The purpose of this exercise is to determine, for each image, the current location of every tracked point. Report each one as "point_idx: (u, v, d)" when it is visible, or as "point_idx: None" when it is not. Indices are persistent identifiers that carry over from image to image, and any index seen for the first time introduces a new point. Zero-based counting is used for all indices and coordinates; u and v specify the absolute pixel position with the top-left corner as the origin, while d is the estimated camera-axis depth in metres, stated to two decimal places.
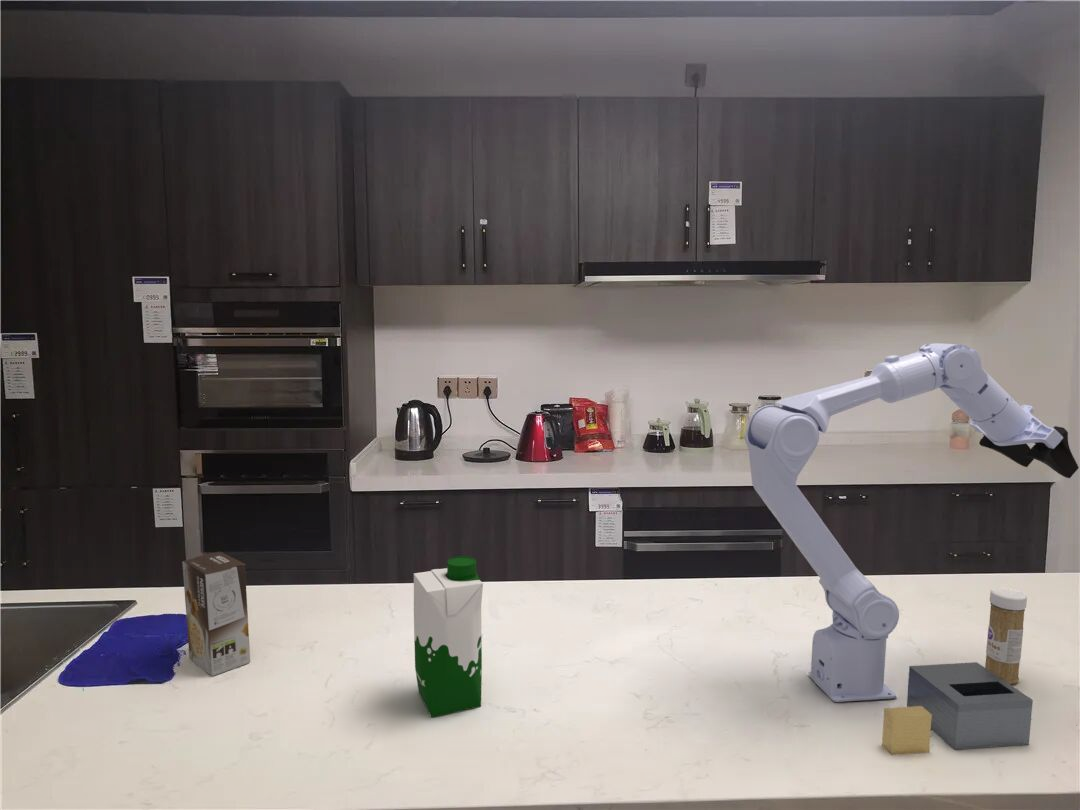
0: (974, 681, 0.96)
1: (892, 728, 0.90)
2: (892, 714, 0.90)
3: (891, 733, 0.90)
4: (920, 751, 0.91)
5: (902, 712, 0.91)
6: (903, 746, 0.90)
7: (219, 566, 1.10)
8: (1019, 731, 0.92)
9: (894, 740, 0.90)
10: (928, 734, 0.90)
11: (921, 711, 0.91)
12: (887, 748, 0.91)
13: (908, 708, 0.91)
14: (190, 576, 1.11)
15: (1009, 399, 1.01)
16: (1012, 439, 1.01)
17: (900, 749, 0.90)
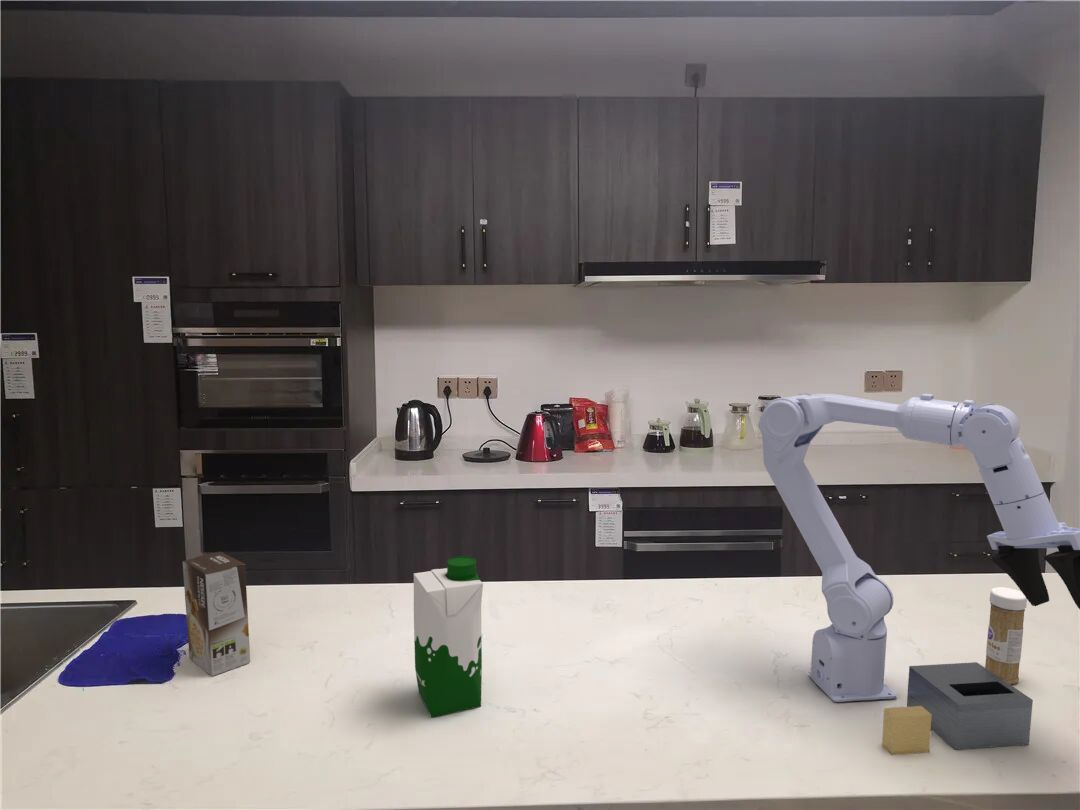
0: (974, 681, 0.96)
1: (891, 728, 0.90)
2: (892, 714, 0.90)
3: (891, 733, 0.90)
4: (920, 751, 0.91)
5: (902, 712, 0.91)
6: (903, 746, 0.90)
7: (219, 566, 1.10)
8: (1019, 731, 0.92)
9: (894, 740, 0.90)
10: (928, 734, 0.90)
11: (921, 711, 0.91)
12: (887, 748, 0.91)
13: (908, 708, 0.91)
14: (190, 575, 1.11)
15: (1044, 493, 0.88)
16: (1033, 537, 0.87)
17: (900, 749, 0.90)
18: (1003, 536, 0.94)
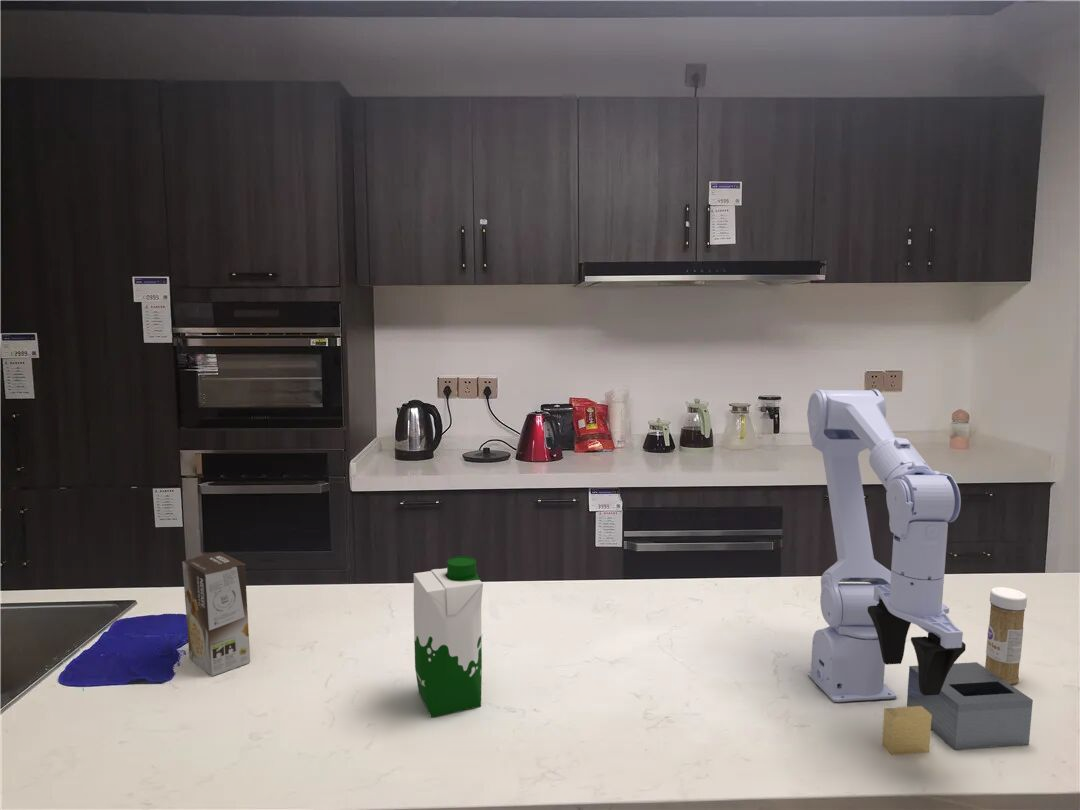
0: (974, 681, 0.96)
1: (892, 728, 0.90)
2: (892, 714, 0.90)
3: (891, 733, 0.90)
4: (920, 751, 0.91)
5: (902, 712, 0.91)
6: (903, 746, 0.90)
7: (219, 566, 1.10)
8: (1019, 731, 0.92)
9: (894, 740, 0.90)
10: (928, 734, 0.90)
11: (921, 711, 0.91)
12: (887, 748, 0.91)
13: (908, 708, 0.91)
14: (190, 576, 1.11)
15: (942, 578, 0.87)
16: (911, 615, 0.87)
17: (900, 749, 0.90)
18: (888, 594, 0.93)
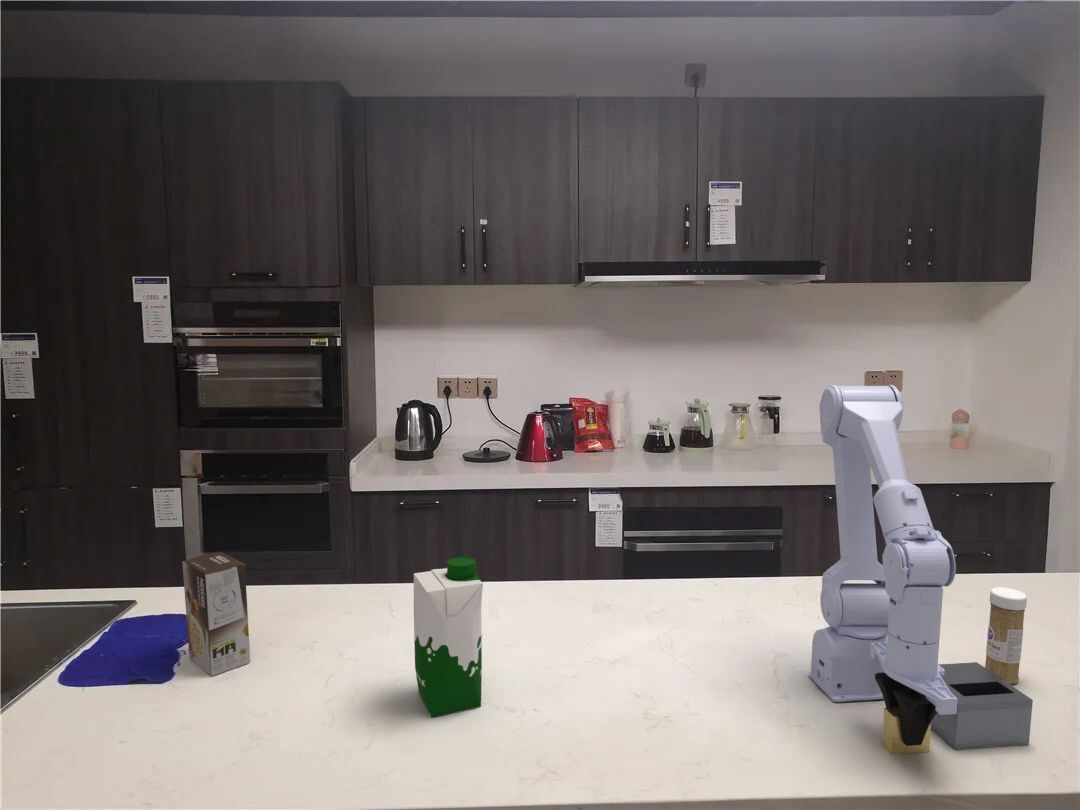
0: (974, 681, 0.96)
1: (892, 727, 0.90)
2: (892, 714, 0.90)
3: (891, 733, 0.90)
4: (920, 751, 0.91)
5: None
6: (903, 746, 0.90)
7: (219, 566, 1.10)
8: (1019, 731, 0.92)
9: (894, 740, 0.90)
10: (928, 734, 0.90)
11: None
12: (887, 748, 0.91)
13: None
14: (190, 576, 1.11)
15: (938, 642, 0.88)
16: (907, 678, 0.88)
17: (900, 749, 0.90)
18: (884, 653, 0.94)
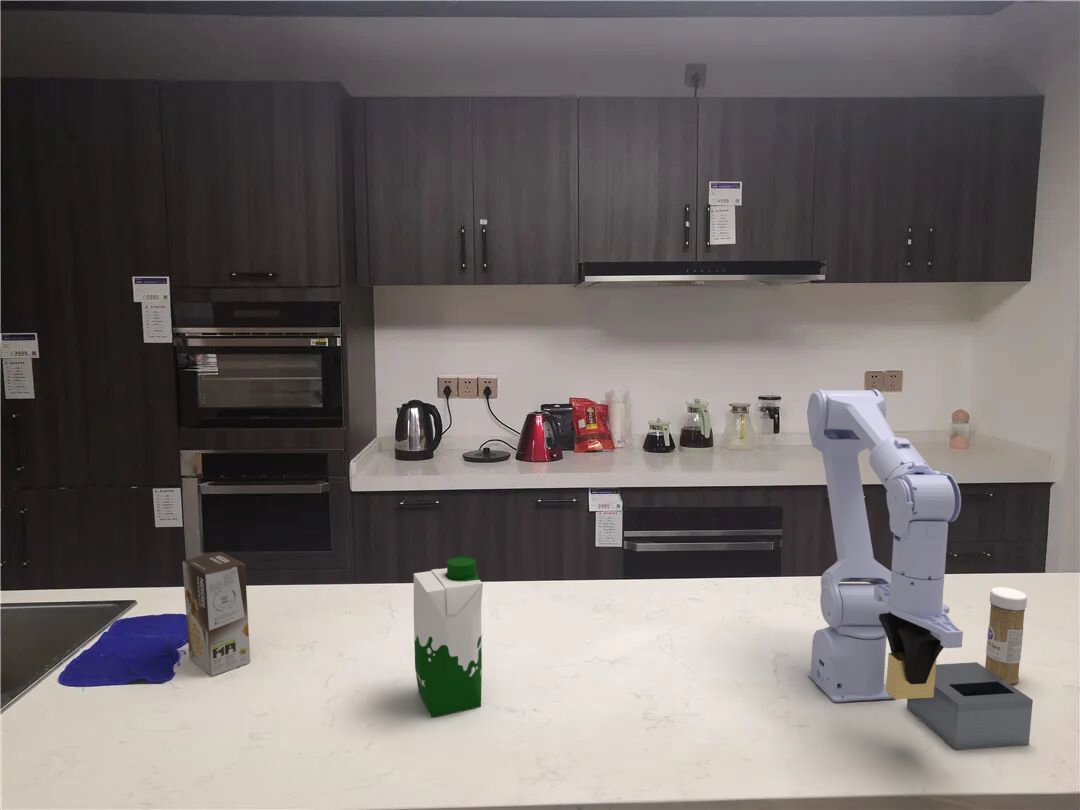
0: (974, 681, 0.96)
1: (896, 672, 0.89)
2: (896, 658, 0.89)
3: (895, 677, 0.89)
4: (924, 696, 0.90)
5: None
6: (907, 690, 0.89)
7: (219, 566, 1.10)
8: (1019, 731, 0.92)
9: (899, 685, 0.89)
10: (933, 679, 0.90)
11: None
12: (891, 693, 0.90)
13: None
14: (190, 576, 1.11)
15: (942, 578, 0.87)
16: (911, 615, 0.87)
17: (904, 693, 0.89)
18: (888, 594, 0.93)
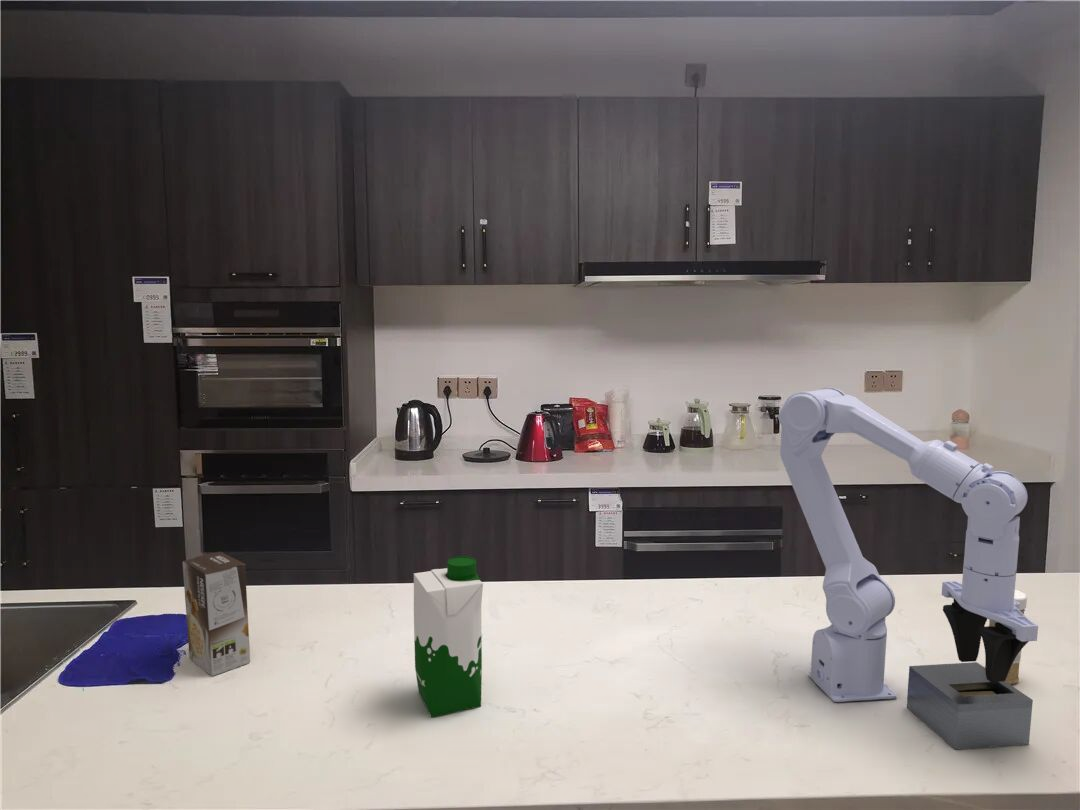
0: (974, 681, 0.96)
1: None
2: None
3: None
4: None
5: None
6: None
7: (219, 566, 1.10)
8: (1019, 731, 0.92)
9: None
10: None
11: None
12: None
13: (979, 693, 0.95)
14: (190, 576, 1.11)
15: (1015, 575, 0.90)
16: (985, 610, 0.90)
17: None
18: (957, 590, 0.97)
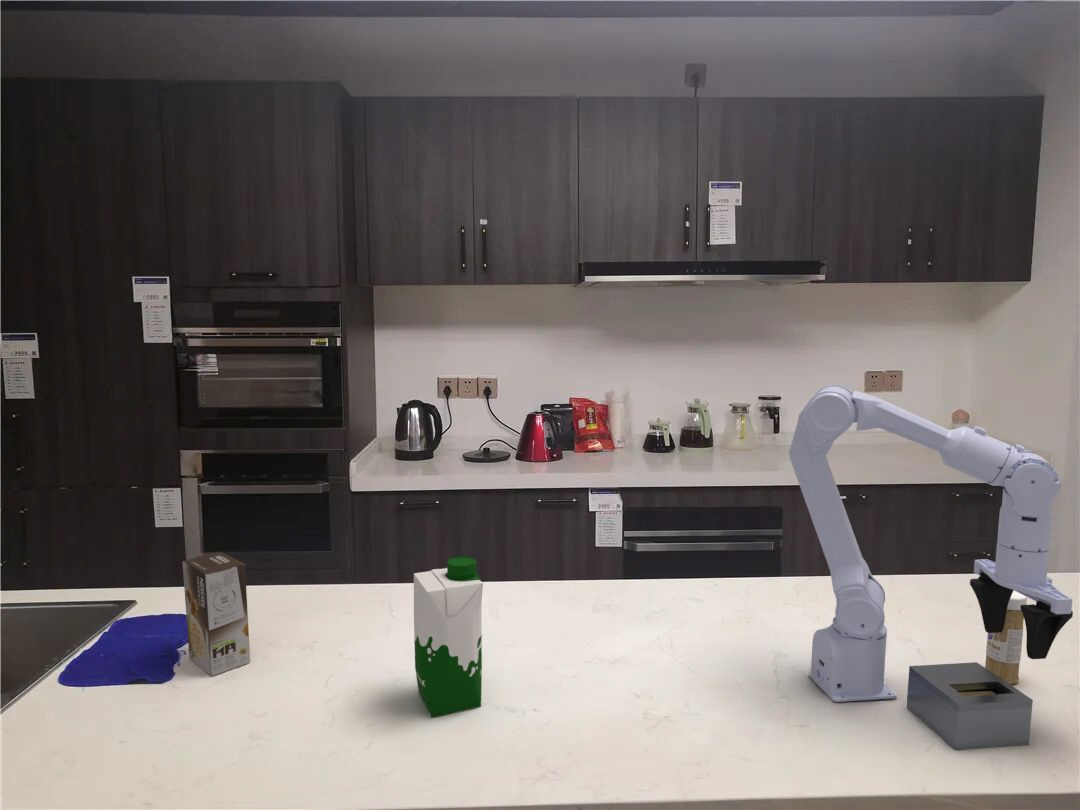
0: (974, 681, 0.96)
1: None
2: None
3: None
4: None
5: None
6: None
7: (219, 566, 1.10)
8: (1019, 731, 0.92)
9: None
10: None
11: None
12: None
13: (979, 693, 0.95)
14: (190, 576, 1.11)
15: (1048, 551, 0.93)
16: (1019, 585, 0.93)
17: None
18: (990, 567, 1.00)
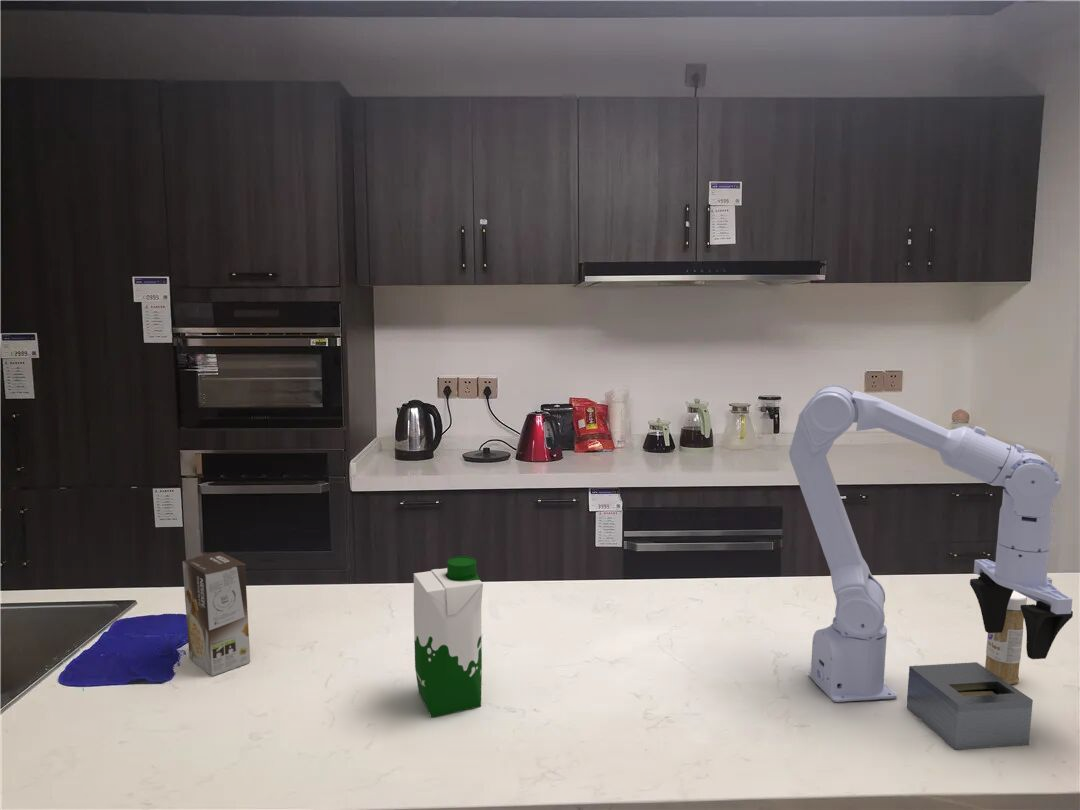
0: (974, 681, 0.96)
1: None
2: None
3: None
4: None
5: None
6: None
7: (219, 566, 1.10)
8: (1019, 731, 0.92)
9: None
10: None
11: None
12: None
13: (979, 693, 0.95)
14: (190, 576, 1.11)
15: (1048, 551, 0.93)
16: (1019, 585, 0.93)
17: None
18: (990, 567, 1.00)
